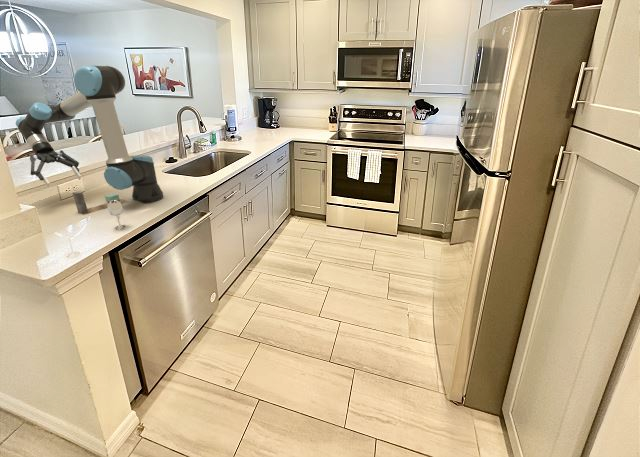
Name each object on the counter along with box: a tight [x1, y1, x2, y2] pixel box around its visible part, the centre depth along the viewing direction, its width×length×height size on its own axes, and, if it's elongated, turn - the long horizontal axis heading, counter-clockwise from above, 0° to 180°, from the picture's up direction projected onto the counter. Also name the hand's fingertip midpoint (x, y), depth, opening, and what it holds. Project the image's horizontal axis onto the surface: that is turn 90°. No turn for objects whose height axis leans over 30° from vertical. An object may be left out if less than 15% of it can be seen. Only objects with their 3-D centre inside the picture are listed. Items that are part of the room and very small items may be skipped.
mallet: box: [72, 190, 129, 216], centre depth 173 cm, size 22×7×11 cm, turn 146°
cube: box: [104, 193, 120, 204], centre depth 178 cm, size 4×4×4 cm
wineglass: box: [107, 200, 127, 230], centre depth 152 cm, size 6×6×12 cm
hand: (64, 181), depth 167 cm, fingers open, 13 cm apart
